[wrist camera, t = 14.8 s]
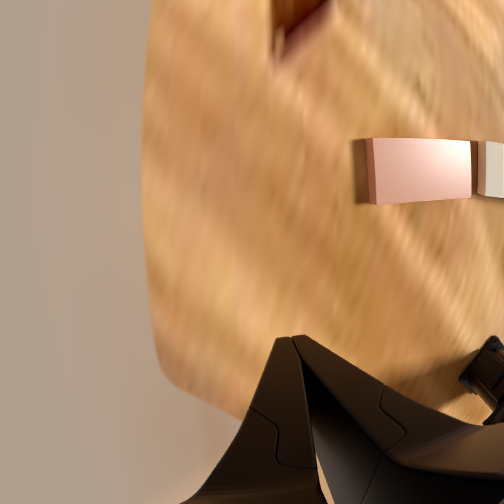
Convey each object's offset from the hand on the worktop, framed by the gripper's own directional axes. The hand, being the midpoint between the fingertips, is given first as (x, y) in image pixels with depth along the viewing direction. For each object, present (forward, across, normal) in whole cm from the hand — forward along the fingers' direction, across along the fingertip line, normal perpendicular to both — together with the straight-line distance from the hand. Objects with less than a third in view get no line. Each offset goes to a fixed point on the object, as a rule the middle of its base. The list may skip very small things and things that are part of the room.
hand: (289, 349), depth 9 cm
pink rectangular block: (+12, -8, -4) cm, 15 cm away
